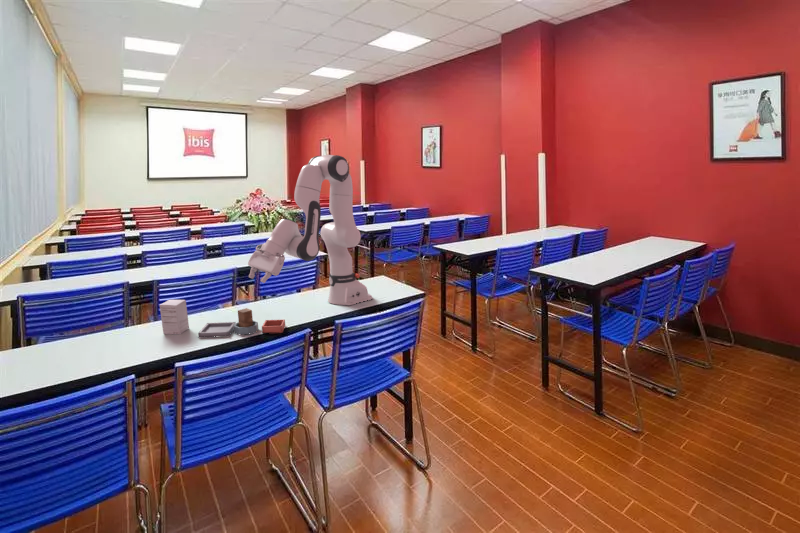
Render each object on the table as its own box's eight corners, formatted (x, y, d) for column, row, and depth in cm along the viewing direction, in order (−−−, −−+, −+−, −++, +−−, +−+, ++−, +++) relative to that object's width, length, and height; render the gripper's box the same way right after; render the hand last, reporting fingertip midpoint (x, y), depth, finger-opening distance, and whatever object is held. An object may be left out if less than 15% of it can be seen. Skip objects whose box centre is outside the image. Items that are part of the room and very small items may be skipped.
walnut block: (248, 328, 191) (246, 308, 189) (253, 330, 189) (251, 310, 187) (239, 331, 188) (237, 310, 186) (244, 333, 186) (243, 312, 184)
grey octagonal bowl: (249, 325, 195) (249, 319, 194) (261, 330, 189) (261, 323, 189) (231, 331, 188) (230, 324, 188) (242, 336, 183) (242, 329, 182)
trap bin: (285, 326, 194) (284, 319, 193) (282, 333, 186) (281, 326, 186) (266, 326, 193) (265, 320, 193) (262, 333, 186) (261, 326, 185)
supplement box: (173, 327, 193) (169, 299, 190) (189, 328, 192) (186, 299, 189) (162, 334, 186) (158, 304, 183) (179, 334, 185) (176, 305, 182)
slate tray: (236, 326, 194) (235, 322, 193) (228, 336, 183) (228, 332, 182) (207, 327, 193) (207, 322, 192) (198, 337, 182) (198, 333, 181)
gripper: (291, 259, 191) (275, 288, 188) (265, 252, 205) (249, 278, 201) (280, 251, 187) (263, 281, 183) (255, 244, 200) (238, 272, 197)
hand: (256, 279), depth 192 cm, fingers open, 8 cm apart
